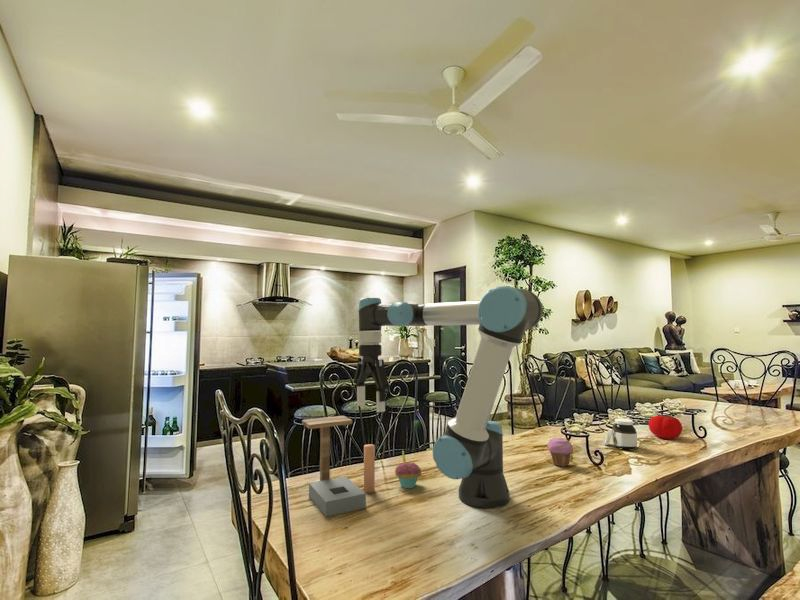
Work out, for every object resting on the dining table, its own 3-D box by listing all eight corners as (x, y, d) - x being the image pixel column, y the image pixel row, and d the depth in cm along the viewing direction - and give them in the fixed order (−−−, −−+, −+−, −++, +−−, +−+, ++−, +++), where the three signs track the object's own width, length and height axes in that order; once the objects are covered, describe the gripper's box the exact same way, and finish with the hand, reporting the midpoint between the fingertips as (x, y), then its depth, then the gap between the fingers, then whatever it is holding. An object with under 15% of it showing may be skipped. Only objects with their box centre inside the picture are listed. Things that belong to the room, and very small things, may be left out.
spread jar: (640, 451, 173) (639, 422, 174) (613, 451, 173) (612, 422, 174) (625, 443, 185) (624, 416, 186) (599, 443, 185) (598, 416, 186)
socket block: (365, 507, 119) (365, 493, 120) (325, 516, 114) (325, 501, 114) (345, 489, 134) (345, 476, 134) (308, 496, 128) (309, 483, 128)
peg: (376, 491, 131) (376, 446, 132) (366, 493, 130) (366, 447, 131) (371, 488, 134) (371, 443, 135) (362, 490, 133) (362, 445, 134)
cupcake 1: (402, 492, 131) (402, 453, 131) (390, 483, 138) (390, 446, 139) (426, 487, 135) (425, 449, 135) (413, 479, 142) (412, 443, 143)
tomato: (656, 440, 189) (655, 417, 190) (645, 433, 201) (644, 411, 202) (688, 441, 187) (687, 417, 187) (675, 434, 199) (674, 412, 200)
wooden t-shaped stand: (352, 491, 131) (352, 420, 133) (308, 500, 125) (309, 425, 126) (343, 483, 138) (343, 415, 140) (301, 491, 132) (302, 420, 133)
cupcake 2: (565, 470, 150) (565, 442, 151) (543, 464, 156) (543, 437, 157) (577, 465, 156) (576, 437, 156) (555, 459, 162) (554, 433, 163)
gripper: (399, 344, 131) (400, 413, 129) (362, 343, 152) (363, 402, 150) (378, 345, 127) (379, 416, 125) (344, 343, 148) (344, 404, 146)
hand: (370, 408), depth 138 cm, fingers open, 13 cm apart
